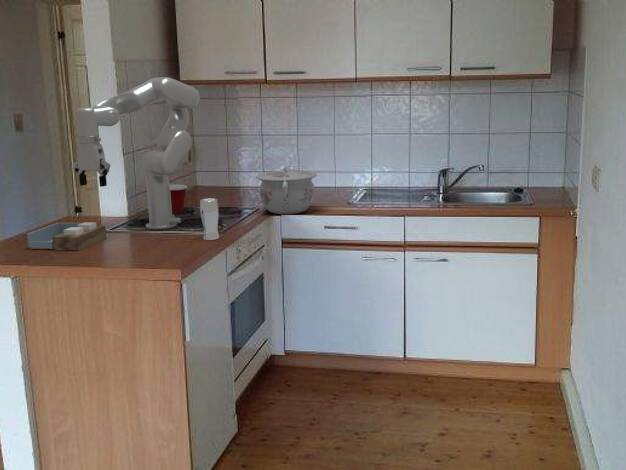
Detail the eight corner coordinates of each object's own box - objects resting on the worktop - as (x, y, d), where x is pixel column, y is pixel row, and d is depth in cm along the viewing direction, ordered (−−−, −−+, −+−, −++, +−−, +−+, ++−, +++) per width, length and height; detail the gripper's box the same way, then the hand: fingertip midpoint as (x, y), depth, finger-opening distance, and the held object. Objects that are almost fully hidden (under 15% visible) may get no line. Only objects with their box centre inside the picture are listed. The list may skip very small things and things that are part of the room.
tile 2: (83, 232, 260) (83, 227, 259) (76, 235, 255) (75, 230, 254) (71, 232, 261) (71, 227, 260) (64, 235, 256) (63, 229, 256)
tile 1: (96, 227, 268) (96, 222, 268) (89, 230, 263) (89, 225, 263) (85, 227, 269) (84, 222, 269) (77, 230, 265) (77, 224, 264)
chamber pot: (285, 204, 332) (283, 161, 328) (330, 209, 315) (329, 164, 310) (243, 214, 311) (241, 168, 307) (289, 220, 294) (288, 172, 289)
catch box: (82, 237, 274) (81, 223, 273) (52, 250, 255) (50, 234, 254) (60, 237, 276) (58, 222, 275) (28, 249, 258) (26, 233, 256)
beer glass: (211, 235, 270) (209, 197, 267) (224, 237, 266) (221, 199, 263) (198, 239, 265) (195, 200, 262) (210, 241, 261) (208, 201, 258)
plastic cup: (171, 214, 317) (169, 188, 314) (161, 211, 325) (159, 186, 322) (193, 211, 323) (191, 185, 320) (182, 208, 331) (180, 183, 329)
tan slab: (106, 238, 271) (105, 226, 270) (77, 250, 253) (76, 237, 251) (83, 237, 274) (82, 225, 273) (53, 250, 255) (52, 236, 254)
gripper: (114, 140, 262) (117, 185, 266) (78, 139, 269) (82, 183, 273) (100, 141, 256) (104, 187, 259) (64, 141, 262) (68, 186, 266)
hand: (93, 185), depth 266 cm, fingers open, 9 cm apart
